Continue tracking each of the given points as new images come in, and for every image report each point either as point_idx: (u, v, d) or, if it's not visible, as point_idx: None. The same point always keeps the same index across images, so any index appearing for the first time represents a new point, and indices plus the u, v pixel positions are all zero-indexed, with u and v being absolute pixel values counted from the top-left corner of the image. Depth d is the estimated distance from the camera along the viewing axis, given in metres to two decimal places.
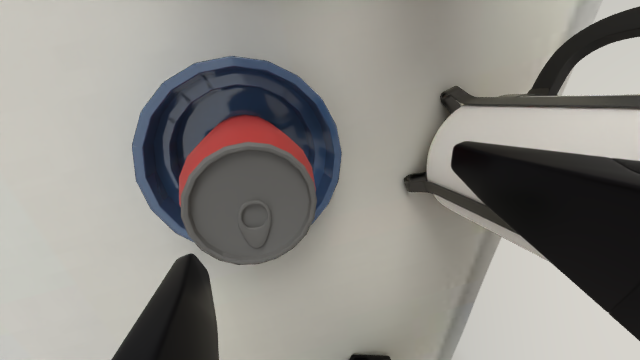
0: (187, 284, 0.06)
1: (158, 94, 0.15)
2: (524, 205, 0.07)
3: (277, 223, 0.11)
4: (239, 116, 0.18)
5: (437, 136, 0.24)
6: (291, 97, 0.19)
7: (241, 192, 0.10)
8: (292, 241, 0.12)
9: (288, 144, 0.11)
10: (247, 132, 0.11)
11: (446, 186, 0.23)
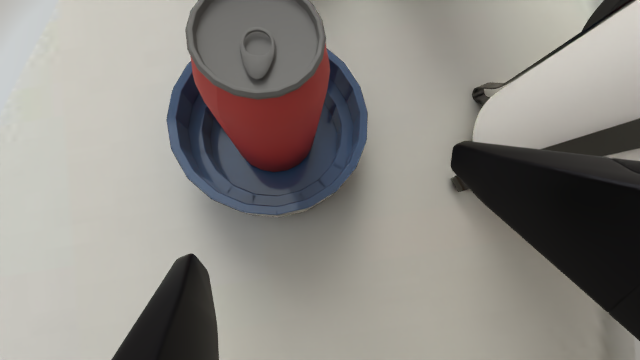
0: (187, 284, 0.06)
1: None
2: (524, 205, 0.07)
3: (282, 60, 0.10)
4: None
5: (478, 118, 0.22)
6: None
7: (248, 23, 0.10)
8: (297, 78, 0.10)
9: None
10: None
11: None
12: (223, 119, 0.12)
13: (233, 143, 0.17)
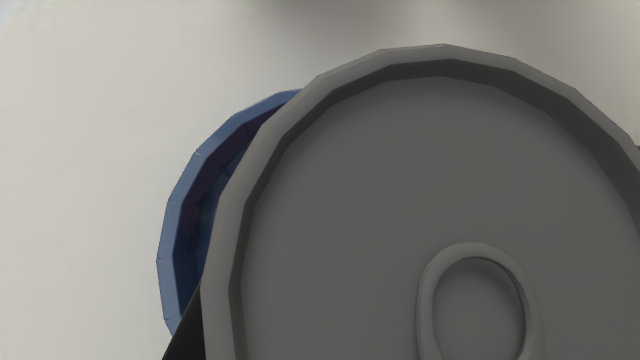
0: None
1: (223, 129, 0.10)
2: None
3: None
4: None
5: None
6: None
7: (419, 213, 0.03)
8: None
9: None
10: None
11: None
12: None
13: None
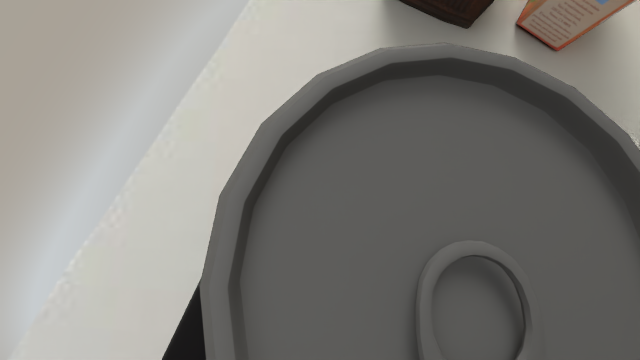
0: None
1: None
2: None
3: None
4: None
5: None
6: None
7: (418, 211, 0.03)
8: None
9: None
10: None
11: None
12: None
13: None
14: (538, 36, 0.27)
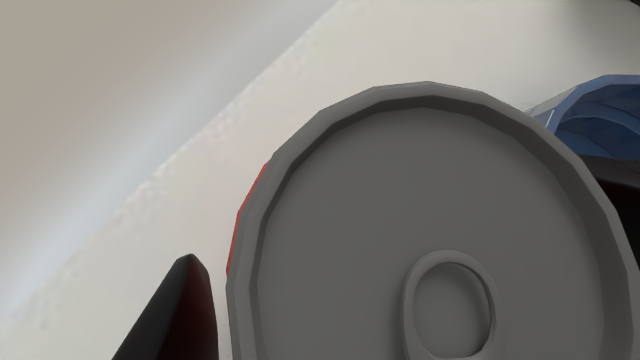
0: (187, 284, 0.06)
1: (598, 81, 0.14)
2: None
3: (518, 348, 0.03)
4: None
5: None
6: None
7: (404, 224, 0.04)
8: None
9: None
10: None
11: None
12: None
13: None
14: None
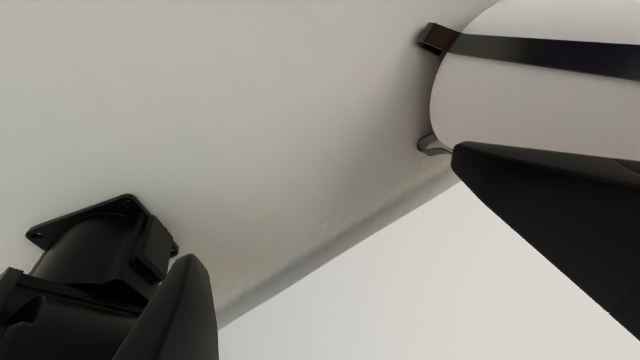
0: (187, 284, 0.06)
1: None
2: (524, 205, 0.07)
3: None
4: None
5: None
6: None
7: None
8: None
9: None
10: None
11: None
12: None
13: None
14: None
